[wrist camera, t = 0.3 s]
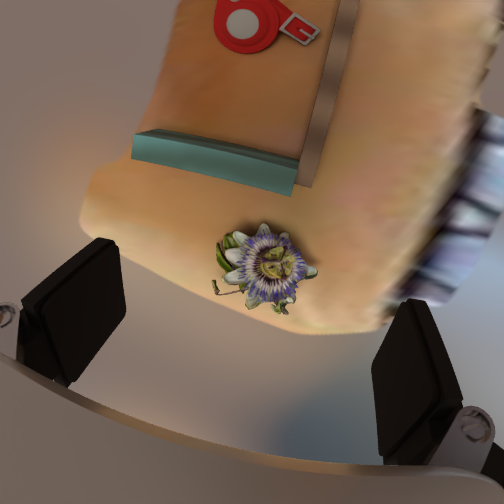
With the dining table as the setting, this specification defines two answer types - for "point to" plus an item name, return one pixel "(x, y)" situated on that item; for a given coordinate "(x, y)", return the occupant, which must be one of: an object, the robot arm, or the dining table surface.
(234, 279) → the passion flower
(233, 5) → the tracker holder
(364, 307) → the dining table surface
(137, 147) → the frame
